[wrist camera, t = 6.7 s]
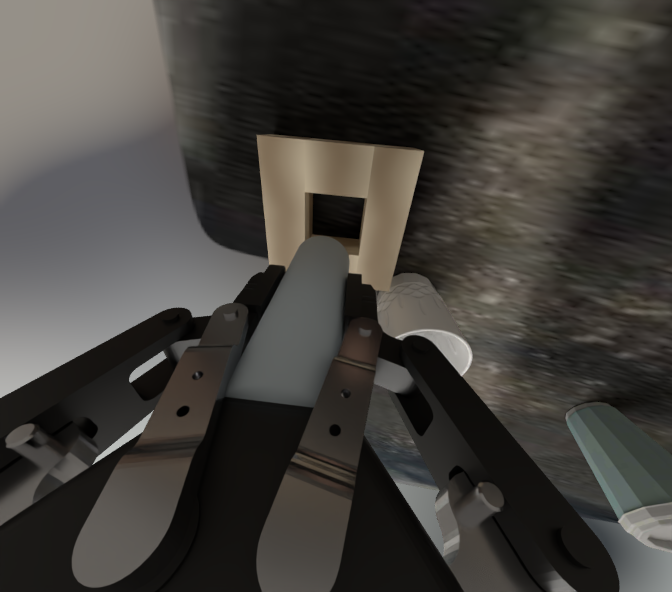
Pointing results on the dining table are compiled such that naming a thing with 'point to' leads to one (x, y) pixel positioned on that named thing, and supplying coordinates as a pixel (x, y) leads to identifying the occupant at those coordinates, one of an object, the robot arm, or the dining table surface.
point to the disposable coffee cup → (627, 471)
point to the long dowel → (297, 329)
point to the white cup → (422, 317)
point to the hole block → (343, 180)
